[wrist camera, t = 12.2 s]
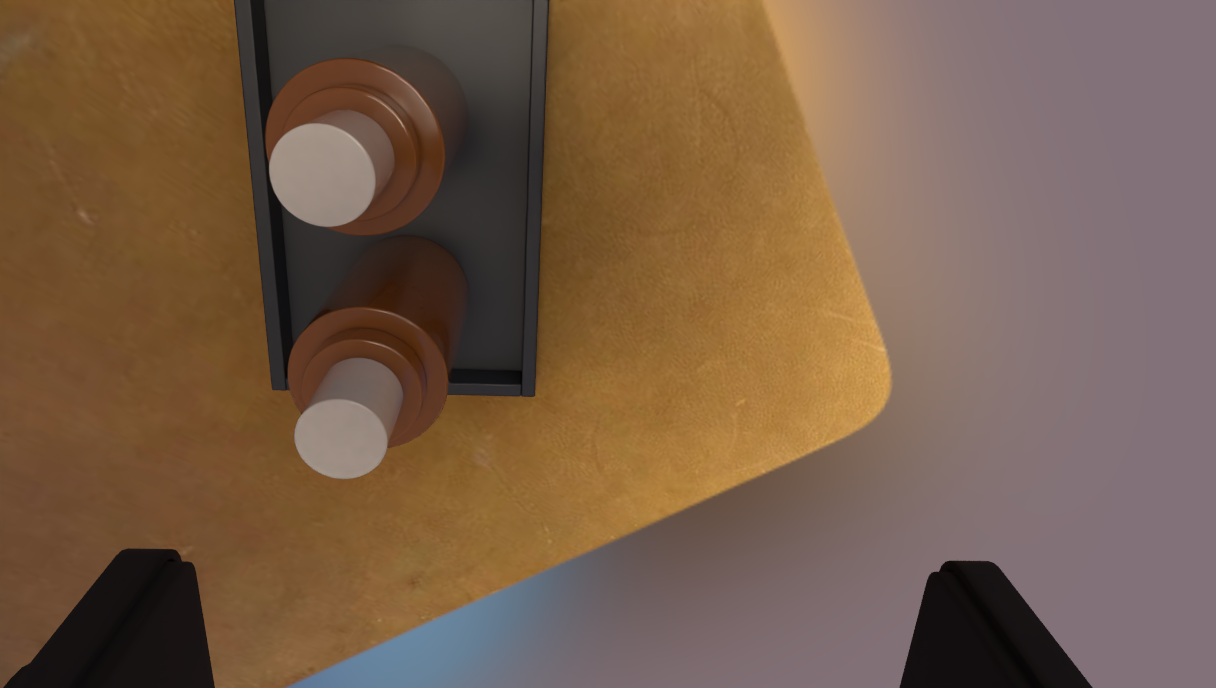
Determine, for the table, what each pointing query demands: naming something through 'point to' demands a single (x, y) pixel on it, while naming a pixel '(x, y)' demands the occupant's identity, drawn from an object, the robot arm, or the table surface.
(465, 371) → the tray
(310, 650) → the table surface
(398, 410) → the loose bottle
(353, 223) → the bottle
